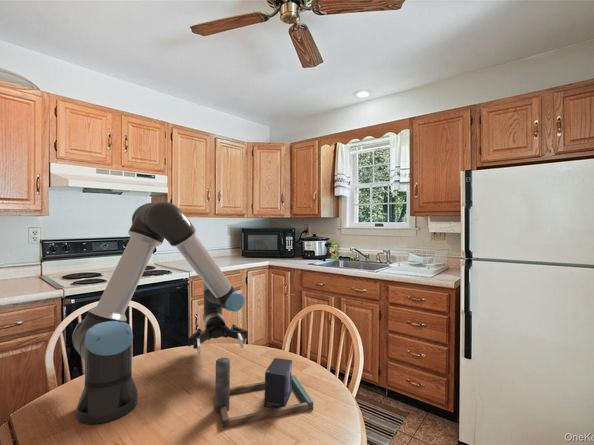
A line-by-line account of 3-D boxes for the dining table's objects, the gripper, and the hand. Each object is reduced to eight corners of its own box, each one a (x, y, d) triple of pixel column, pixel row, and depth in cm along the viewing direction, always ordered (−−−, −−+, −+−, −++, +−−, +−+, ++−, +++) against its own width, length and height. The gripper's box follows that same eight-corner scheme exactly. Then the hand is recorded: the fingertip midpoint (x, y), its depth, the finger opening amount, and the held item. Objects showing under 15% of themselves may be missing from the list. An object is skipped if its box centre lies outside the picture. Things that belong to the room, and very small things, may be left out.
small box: (284, 411, 88) (285, 374, 88) (263, 408, 89) (263, 372, 89) (292, 391, 98) (293, 359, 98) (273, 389, 100) (273, 357, 100)
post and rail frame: (217, 428, 80) (218, 375, 80) (212, 395, 95) (213, 350, 95) (313, 408, 89) (313, 360, 89) (294, 381, 104) (294, 340, 104)
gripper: (247, 331, 123) (259, 352, 103) (180, 339, 114) (179, 365, 94) (247, 312, 123) (258, 330, 103) (180, 319, 114) (179, 340, 94)
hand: (221, 347), depth 99 cm, fingers open, 13 cm apart
